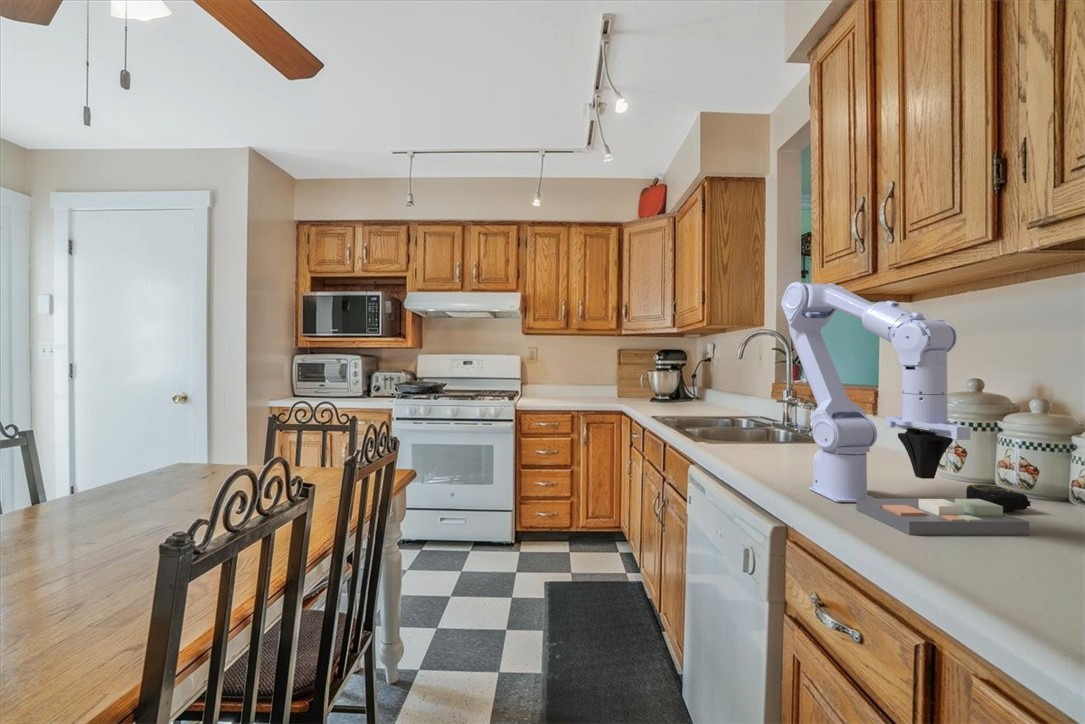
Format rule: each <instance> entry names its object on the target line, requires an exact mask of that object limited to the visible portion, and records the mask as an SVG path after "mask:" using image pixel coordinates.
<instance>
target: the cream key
mask: <svg viewBox="0 0 1085 724" xmlns="http://www.w3.org/2000/svg"><path fill="white" fill-rule="evenodd" d="M918 499H919V508H920V509H922V510H925V511H928V512H930V513H933V514H935V515H938V516H941V515H954V516H957V515H965V509H964V506H962V505H959V504H956V503H953V502H950V501H947V500H944V499H945V498H918Z"/></svg>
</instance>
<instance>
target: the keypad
mask: <svg viewBox="0 0 1085 724" xmlns="http://www.w3.org/2000/svg"><path fill="white" fill-rule="evenodd" d="M919 499H920V498H876V499H856V502H855V504H856V505H855V507H856V511H858V512H860V513H862V514H864V515H866V516H869V517H871V518H872V519H875V520H877V521H879V522H881V523H883V524H886V525H888V526H889V527H892V528H894V529H896V530H898V531H900V532H902V533H904V534H906V535H908V536H915V535H916V536H921V535H922V536H943V535H945V536H950V535H951V536H967V535H968V536H1014V535H1015V536H1029V535H1030V521H1028V520H1026V519H1023V518H1018V517H1015V516H1013V515H1010V514H1007V513H1004V512H1003V516H976V515H973V514H971V513H968V512H965V515H957V516H954V515H941V516H938V515H935V514H933V513H930V512H928V511H925V510H922V509H920V508H919ZM943 499H944V500H947V501H950V502H953V503H955V499H956V498H943ZM882 505H908V506H910V507H913V508H915V509H918V510H921V511H923V512H926V516H900V515H897V514H895V513H893V512H890V511H888V510H886V509H883V508H882Z"/></svg>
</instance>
